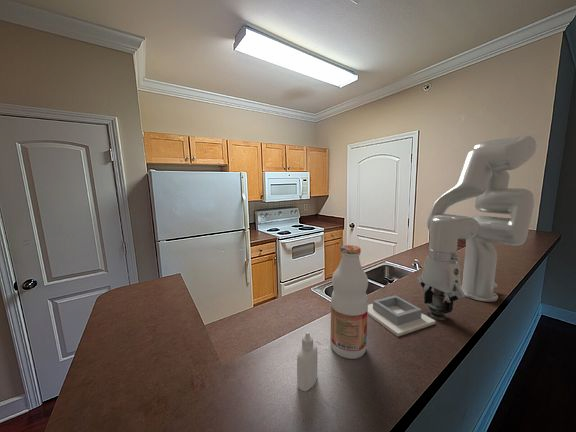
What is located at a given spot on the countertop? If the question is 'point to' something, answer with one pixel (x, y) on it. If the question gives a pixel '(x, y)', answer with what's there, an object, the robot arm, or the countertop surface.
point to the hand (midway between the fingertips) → (437, 306)
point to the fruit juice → (349, 305)
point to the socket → (398, 315)
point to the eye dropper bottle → (307, 363)
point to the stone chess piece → (437, 305)
